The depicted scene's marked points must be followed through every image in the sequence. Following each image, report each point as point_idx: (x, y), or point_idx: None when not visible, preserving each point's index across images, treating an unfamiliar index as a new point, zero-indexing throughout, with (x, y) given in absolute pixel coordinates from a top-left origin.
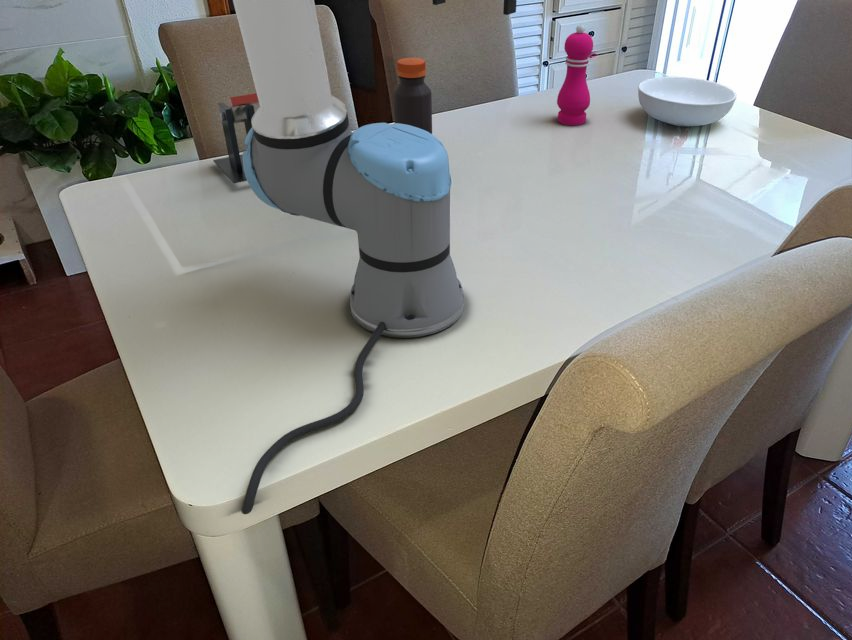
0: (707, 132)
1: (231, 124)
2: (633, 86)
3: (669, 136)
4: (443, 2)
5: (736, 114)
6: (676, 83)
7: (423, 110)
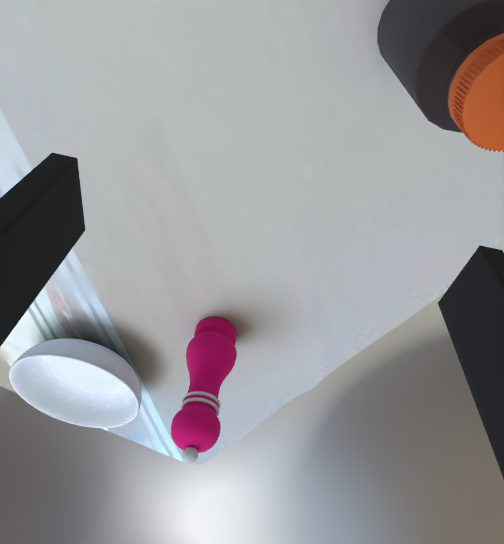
0: (45, 337)
1: None
2: None
3: (77, 315)
4: (447, 293)
5: None
6: (111, 418)
7: (424, 26)
